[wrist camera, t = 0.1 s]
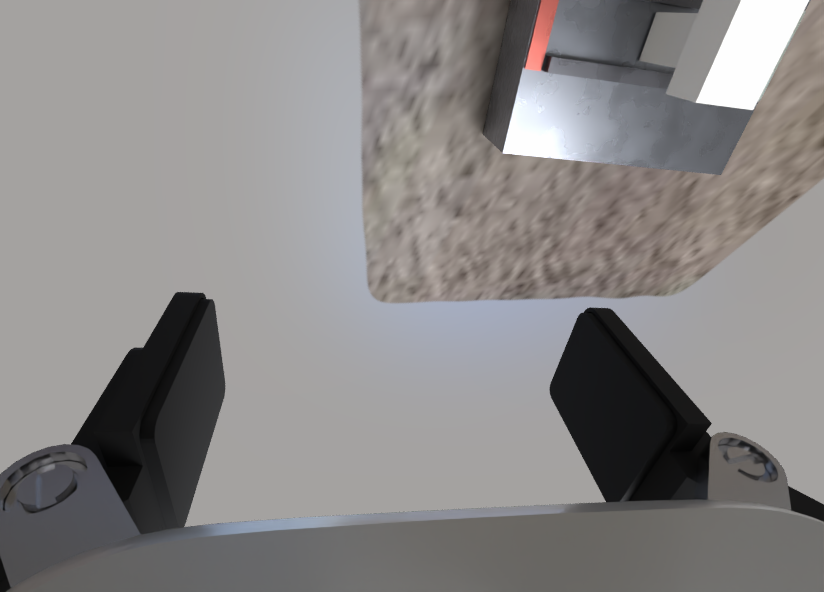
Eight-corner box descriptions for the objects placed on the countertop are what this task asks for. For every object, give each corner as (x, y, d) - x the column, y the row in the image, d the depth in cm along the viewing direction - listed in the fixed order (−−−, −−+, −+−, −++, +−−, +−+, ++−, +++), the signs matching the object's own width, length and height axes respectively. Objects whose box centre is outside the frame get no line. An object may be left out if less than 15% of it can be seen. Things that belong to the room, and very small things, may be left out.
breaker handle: (659, -16, 29) (750, -22, 23) (710, -6, 30) (813, -9, 24) (624, 82, 33) (695, 102, 26) (672, 89, 33) (752, 110, 27)
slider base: (539, -139, 30) (586, -172, 24) (784, -83, 33) (876, -101, 28) (483, 134, 40) (506, 156, 34) (677, 155, 43) (729, 178, 37)
